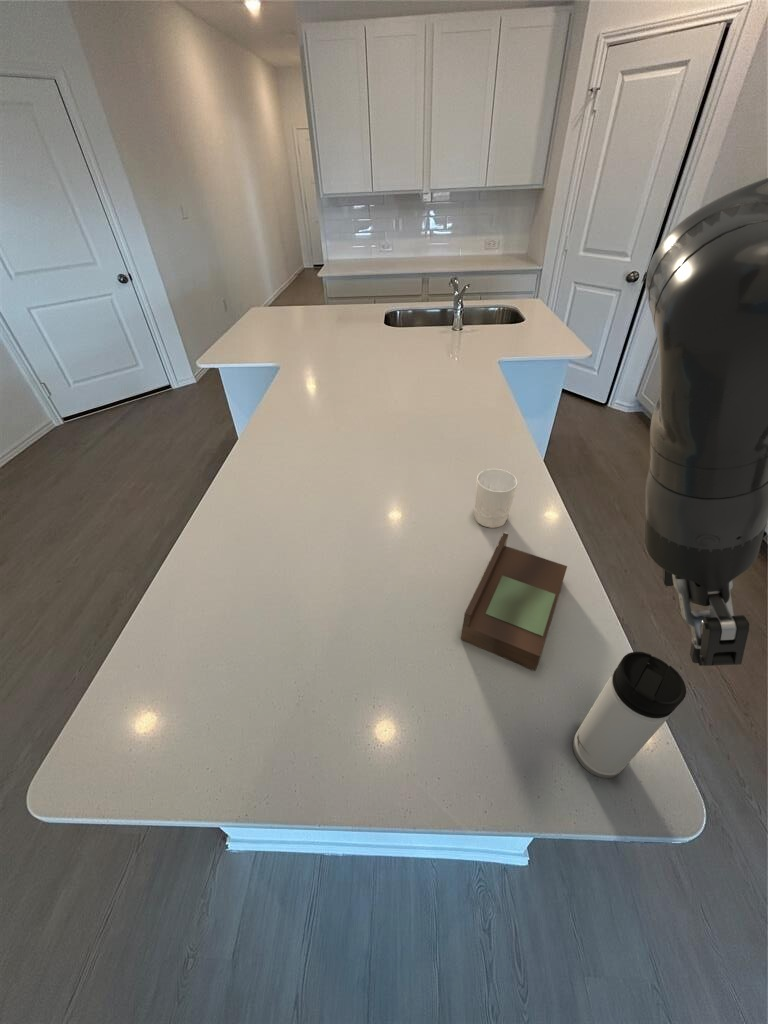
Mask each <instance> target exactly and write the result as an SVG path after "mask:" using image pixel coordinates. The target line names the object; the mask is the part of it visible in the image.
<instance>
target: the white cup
mask: <svg viewBox="0 0 768 1024" xmlns="http://www.w3.org/2000/svg"><path fill="white" fill-rule="evenodd" d="M517 486H518V479H517V477H516V476H515V474H514V473H512V472H509V471H507V470H506V469H501V468H487V469H484V470H482V471H480V472H479V473H478V474H477V476H476V483H475V494H474V495H475V497H474V519H475V522H477V523H478V524H479V525H481V526H483V527H486V528H489V529H493V528H500V527H502V526H504V525H505V523H506V522H507V521H508V517H509V513H510V511H511V507H512V504H513V501H514V497H515V493H516V490H517Z"/></svg>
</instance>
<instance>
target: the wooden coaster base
mask: <svg viewBox="0 0 768 1024" xmlns="http://www.w3.org/2000/svg"><path fill="white" fill-rule="evenodd" d="M508 540H509V534H508V533H505V532H502V534H501V536H500V539H499V540H498V542H497V544H496V547H495V548H494V551H493V553H492V555H491V558H490V560H489V561H488V563H487V566H486V568H485V570H484V572H483V574H482V576H481V578H480V580H479V582H478V584H477V586H476V588H475V590H474V593H473V595H472V597H471V599H470V601H469V602H468V605H467V607H466V609H465V611H464V615H463V620H462V621H463V622H462V628H461V635H460V640H461V641H464V642H466V643H468V644H470V645H473V646H476V647H478V648H480V649H483V650H484V651H487V652H490V653H492V654H494V655H497V656H499V657H502V658H504V659H506V660H508V661H511V662H513V663H516V664H518V665H520V666H523V667H525V668H527V669H530V670H533V671H536V669H537V667H538V664H539V662H540V659H541V656H542V653H543V650H544V646H545V643H546V639H547V637H548V633H549V630H550V626H551V623H552V619H553V616H554V613H555V609H556V606H557V602H558V600H559V595H560V593H561V589H562V585H563V583H564V579H565V576H566V572H567V569H568V565H565V564H562V563H560V562H557V561H553V560H550V559H546V558H544V557H541V556H538V555H535V554H532V553H529V552H525V551H522V550H519V549H516V548H513V547H510V546H507V543H508Z"/></svg>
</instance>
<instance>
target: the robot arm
mask: <svg viewBox="0 0 768 1024" xmlns="http://www.w3.org/2000/svg"><path fill="white" fill-rule="evenodd" d="M651 257H652V258H651V260H650V262H649V266H648V268H647V272H646V279H645V294H646V298H647V303H648V307H649V310H650V314H651V318H652V323H653V327H654V331H655V336H656V341H657V348H658V363H659V396H658V398H657V399H656V402H655V403H654V406H653V409H652V413H651V417H650V426H649V464H648V472H647V476H646V480H645V486H644V487H645V489H644V490H645V493H644V498H645V499H644V545H645V549H646V550H647V553H648V555H649V557H650V558H651V559H652V560H653V562H654V563H656V565H657V566H659V567H660V568H661V569H662V579H661V580H662V582H663V585H664V586H666V587H674V589H675V590H676V591H677V593H678V599H679V607H680V611H681V617H682V618H683V620H684V621H685V622H686V624H687V625H689V626H690V632H691V644H690V651H689V655H690V656H689V657H690V659H691V661H692V663H694V664H698V666H699V667H702V666H703V667H704V666H705V667H707V666H708V667H710V666H736V665H737V666H738V665H742V662H743V659H744V658H743V657H744V654H745V650H746V649H745V648H746V645H747V641H748V637H749V633H750V622H749V620H748V619H747V617H746V615H744V614H741V615H739V614H738V615H735V611H734V605H733V597H732V592H731V591H732V589H733V588H734V579H736V578H737V577H739V576H741V575H742V574H743V573H745V572H746V571H747V570H749V569H750V568H751V567H752V566H753V565H754V563H755V562H756V560H757V559H758V556H759V552H760V550H761V545H762V542H763V538H764V535H765V530H766V527H767V523H768V177H765V178H763V179H760V180H757V181H754V182H752V183H750V184H746V185H744V186H741V187H739V188H736V189H735V190H731V191H730V192H727V193H725V194H724V195H721V196H719V197H717V198H715V199H713V200H711V201H710V202H708V203H706V204H704V205H702V206H701V207H700V208H697V209H695V211H693V212H692V213H691V214H689V215H687V216H686V217H685V218H683V220H681V221H680V222H679V223H678V224H677V225H675V226H674V227H673V228H672V230H670V232H669V233H668V234H667V235H666V236H665V237H664V239H663V240H662V241H661V242H660V244H659V245H658V247H657V248H656V250H655V252H654V254H653V255H652V256H651ZM691 603H692V604H694V605H699V606H701V607H708V609H704V610H703V609H702V610H692V606H691ZM701 627H702V628H701Z"/></svg>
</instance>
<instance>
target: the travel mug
mask: <svg viewBox="0 0 768 1024" xmlns="http://www.w3.org/2000/svg"><path fill="white" fill-rule="evenodd" d="M686 695H687V687H686V683H685V681H684V679H683V677H682V676H681V674H680V673H679V672H678V671H677V670H676V668H674V667H673V666H672V665H668V664H667V663H666V662H665V661H664V660H662V659H661V658H658V657H656V656H654V655H652V654H650V653H647V652H644V651H632V652H629V653H627V654H625V655H624V656H623V657H622V658H621V660H620V661H619V663H618V665H617V667H616V668H615V669H614V671H613V672H612V673H611V675H610V677H609V679H608V681H606V683H605V685H604V687H603V688H602V690H601V692H600V693H599V695H598V696H597V698H596V700H595V701H594V703H593V705H592V706H591V708H590V710H589V711H588V713H587V715H586V716H585V718H584V719H583V721H582V722H581V724H580V726H579V728H578V729H577V731H576V732H575V734H574V736H573V739H572V749H573V753H574V756H575V758H576V759H577V761H578V762H579V764H580V765H581V766H582V767H583V768H584V769H585V770H586V771H587V772H588V773H590V774H591V775H594V776H596V777H599V778H603V779H611V778H614V777H616V776H618V775H619V774H621V773H622V771H623V770H624V768H626V767H627V765H628V764H629V763H630V762H631V761H632V760H633V759H634V757H635V756H636V755H637V754H638V753H639V752H640V751H641V750H642V749H643V747H644V746H645V745H646V744H647V743H648V741H650V740H651V738H652V737H653V736H654V735H655V734H656V733H657V731H658V730H659V729H660V728H661V727H662V726H663V725H664V723H665V722H666V721H668V719H669V718H670V716H672V715H673V713H674V711H675V710H676V709H677V708H678V706H679V705H681V703H682V702H683V701H684V700H685V698H686Z"/></svg>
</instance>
